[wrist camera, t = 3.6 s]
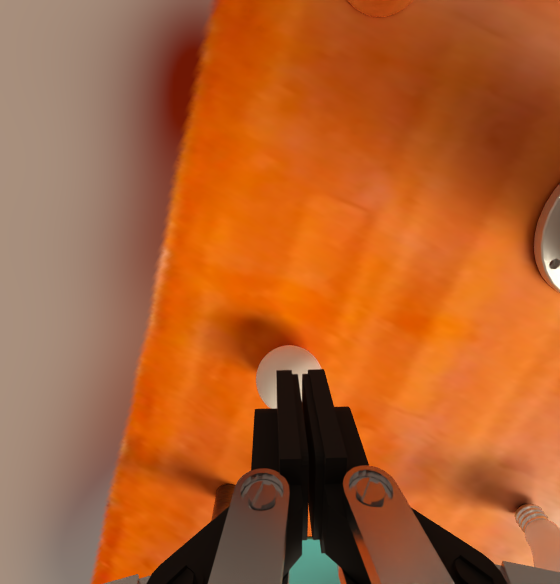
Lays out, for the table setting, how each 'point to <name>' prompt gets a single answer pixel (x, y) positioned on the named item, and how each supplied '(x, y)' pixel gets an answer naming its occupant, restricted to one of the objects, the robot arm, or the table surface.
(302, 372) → the ball
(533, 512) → the light bulb
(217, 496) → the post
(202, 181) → the table surface
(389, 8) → the beer glass
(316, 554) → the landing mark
